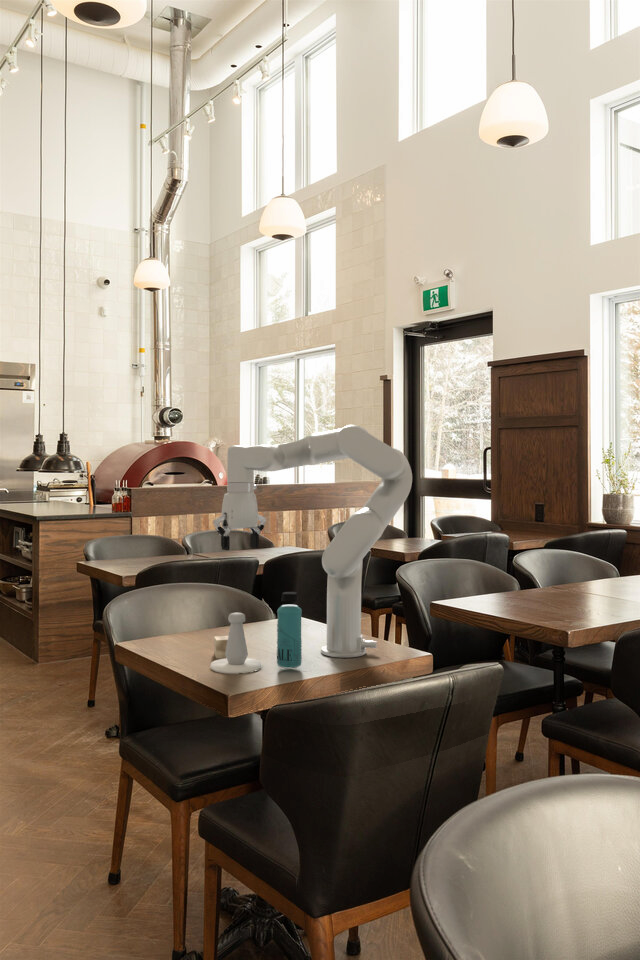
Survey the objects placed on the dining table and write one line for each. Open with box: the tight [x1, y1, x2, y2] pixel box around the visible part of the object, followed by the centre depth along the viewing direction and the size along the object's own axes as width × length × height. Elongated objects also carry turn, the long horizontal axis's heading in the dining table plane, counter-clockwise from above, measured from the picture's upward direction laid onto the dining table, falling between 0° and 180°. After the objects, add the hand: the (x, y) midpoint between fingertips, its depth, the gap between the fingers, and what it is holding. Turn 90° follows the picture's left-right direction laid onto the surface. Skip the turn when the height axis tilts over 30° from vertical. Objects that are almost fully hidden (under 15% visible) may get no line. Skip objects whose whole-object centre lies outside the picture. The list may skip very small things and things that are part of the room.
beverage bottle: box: [276, 591, 303, 668], centre depth 206 cm, size 6×7×20 cm
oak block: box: [213, 635, 229, 659], centre depth 221 cm, size 5×5×5 cm
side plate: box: [210, 657, 262, 675], centre depth 208 cm, size 13×13×1 cm
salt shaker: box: [225, 612, 249, 665], centre depth 208 cm, size 6×6×13 cm
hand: (240, 548), depth 230 cm, fingers open, 9 cm apart
